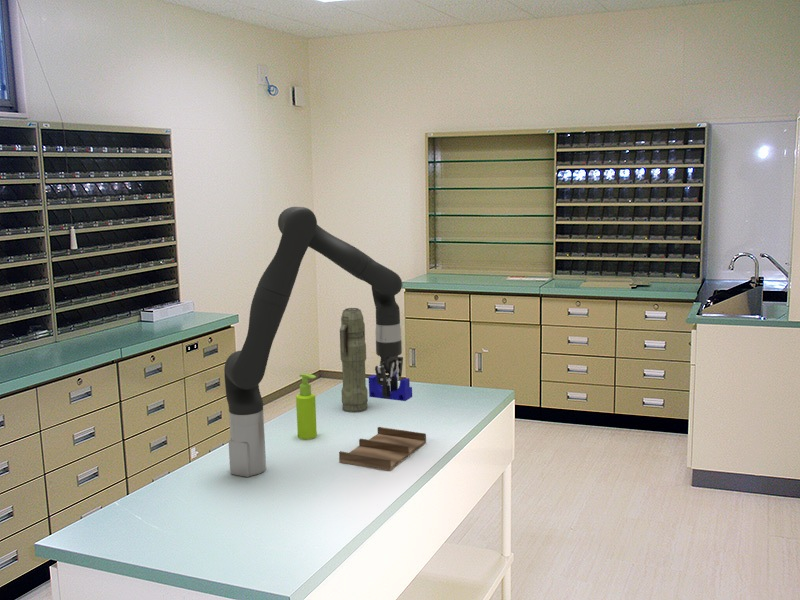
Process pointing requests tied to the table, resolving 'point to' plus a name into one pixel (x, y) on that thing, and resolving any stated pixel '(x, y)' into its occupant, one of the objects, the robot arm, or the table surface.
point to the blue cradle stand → (400, 394)
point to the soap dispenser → (306, 409)
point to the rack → (384, 449)
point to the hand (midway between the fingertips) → (390, 394)
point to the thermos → (353, 360)
